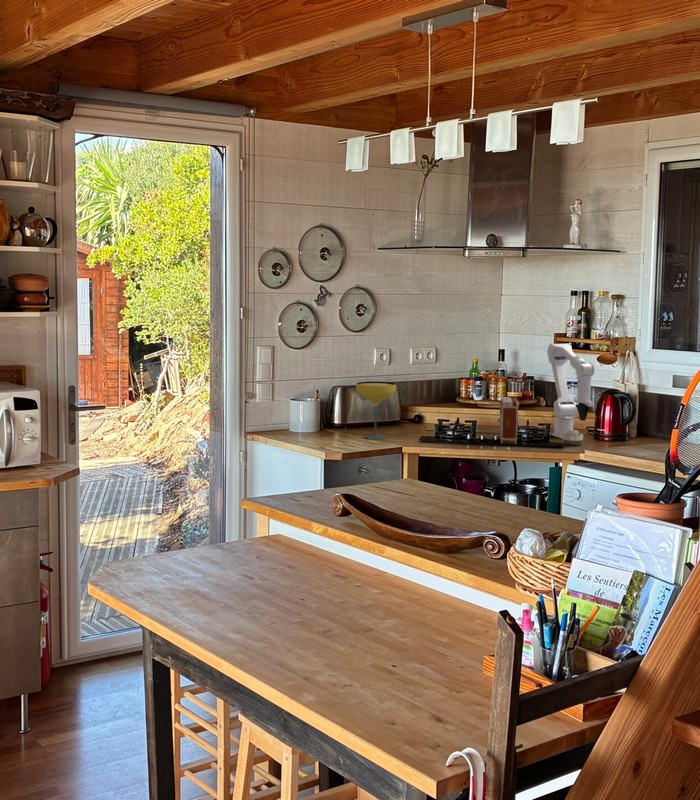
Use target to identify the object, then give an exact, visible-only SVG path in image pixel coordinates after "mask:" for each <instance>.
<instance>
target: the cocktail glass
mask: <svg viewBox="0 0 700 800" xmlns="http://www.w3.org/2000/svg"><path fill="white" fill-rule="evenodd" d="M396 385H397V384H396V383H394V382H389V381H378V380H377V381H374V380H373V381H371V380H370V381H360V382H357V383H356V385H355V390H356V393H357V394H358V395H360V397H362V398H364V399H366V400H368V401H369V402H371V404H372V405H373V406H374V429H373V433H372V434H369V435H364V436H363V438H364V437H365V438H369V439H368V440H370V439H382V440H386V439H388V436H386V435H381V434H378V432H377V431H378V430H377V406H379V404H380V403H381V402H382V401H384V400H386V399H387V398H390V397H391V396H393V395H394V394H395V393H396V389H397V386H396ZM365 438H364V439H365Z"/></svg>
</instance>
